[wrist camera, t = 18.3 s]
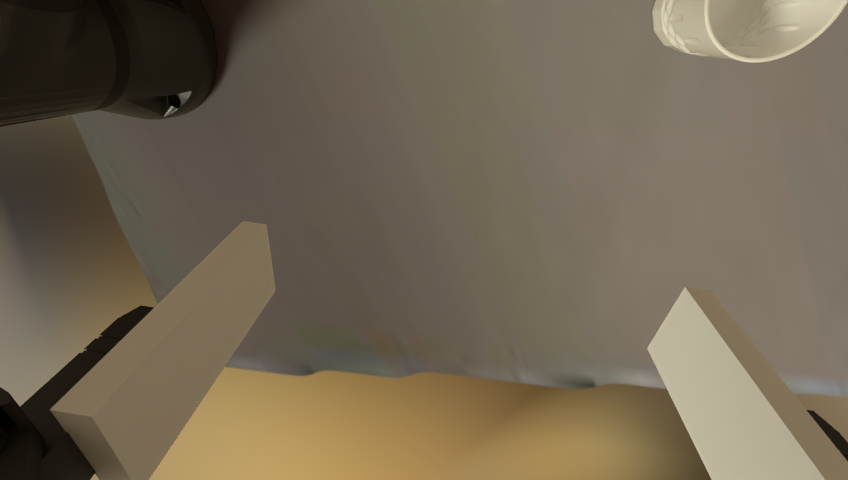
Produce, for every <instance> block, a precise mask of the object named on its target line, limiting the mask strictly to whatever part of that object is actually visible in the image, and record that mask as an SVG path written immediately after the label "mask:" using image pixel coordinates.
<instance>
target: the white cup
mask: <svg viewBox="0 0 848 480" xmlns="http://www.w3.org/2000/svg"><path fill="white" fill-rule="evenodd" d="M847 2H848V0H656V2H655V5H654V8H653V11H652V15H653V27H654V32H655V33H656V35H657V36H658V38H659V39H660V41H661V42H662V44H663V45H664V46H667V47H669V48H671V49H674V50H676V51H679V52H684V53H689V54H693V55H698V56H704V57H710V58H719V59H727V60H735V61H743V62H766V61H771V60H775V59H779V58H782V57H784V56H787V55H789V54H792V53H794V52H796V51H798V50H799V49H801V48H803V47H804V46H806V45H808V44H809V43H810V42H812V41H813V40H814V39H816V38H817V37H818V36H819V35H821V34H822V33H823V32H824V31H825V30H826V29H827V28H828V27H829V26H830V25H831V24H832V23H833V22H834V20H835V19H836V18H837V17H838V16H839V14H840V13H841V12H842V10H843V9H844V7H845V6H846V4H847Z"/></svg>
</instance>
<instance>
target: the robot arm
mask: <svg viewBox="0 0 848 480" xmlns="http://www.w3.org/2000/svg"><path fill="white" fill-rule="evenodd" d="M215 71H216V46H215V40H214V35H213V31H212V28H211V25H210V22H209V19H208V17H207V15H206V12H205V10H204V8H203V6H202V4H201V2H200V1H199V0H0V127H1V126H6V125H12V124H18V123H24V122H29V121H36V120H41V119H47V118H53V117H59V116H65V115H71V114H76V113H82V112H87V111H94V110H101V111H106V112H111V113H116V114H122V115H127V116H132V117H137V118H142V119H165V118H170V117H175V116H179V115H183V114H186V113H188V112H190V111H192V110H193V109H195V108H196V107H197V106H199V105H200V104H201V103H202V102H203V100H204V99H205V98H206V96H207V95H208V93H209V91H210V89H211V87H212V84H213V81H214V77H215ZM275 291H276V290H275V283H274V276H273V269H272V261H271V254H270V247H269V239H268V232H267V225H266V224H259V223H252V222H245V221H243V222H242V223H241V224H240V225H239V226H237V227H236V228H235V229H234V230H233V231H232V232H231V233H230V234H229V235H228V236H227V237H226V238H225V239H224V240H223V241H222V242H221V243H220V244H219V245H218V246H217V247H216V248H215V249H214V250H213V251H212V252H211V253H210V254H209V255H208V256H207V257H206V258H205V259H204V260H203V261H202V262H201V263H200V264H199V265H198V266H196V267H195V268H194V269H193V270H192V271H191V272H190V273H189V274H188V275H187V276H186V277H185V278H184V279H183V280H182V281H181V282H180V283H179V284H178V285H177V286H176V287H175V288H174V289H173V290H172V291H171V292H170V293H169V294H168V295H167V296H166V297H165V298H164V299H163V300H162V301H161V302H160V303H159V304H158V305H157V306H155V307H154V308H153V307H147V306H139V307H138V308H136V309H134V310H132V311H130V312H129V313H127V314H125V315H123V316H121V317H120V318H118V319H117V320H116V321H114V322H113V323H112V324H111V325H110V326H109V327H108V328H107V329H106V330H104V331H103V332H102V333H101V334H100V335H99V338H98V339H95V340H93V341H92V342H91V343H90V344H89V345H88V346H87V347H86V348H85V349H84V352H83V353H79V354H78V355H77V356H76V357H75V358H74V359H72V360H71V361H70V362H69V363H68V364H67V365H66V366H65V367H64V368H63V369H61V370H60V371H59V372H58V373H57V374H56V375H55V376H54V377H53V378H51V379H50V380H49V381H48V382H47V383H46V384H45V385H44V386H43V387H41V388H40V389H39V390H38V391H37V392H36V393H35V394H34V395H33V396H32V397H31V398H29V399H28V400H27V401H26V402H25V403H24V404H23V405H22V406H21V407H19V405H18V404H17V403H16V402H15V400H14V399H13V398H12V396H11V395H10V394H9V393H8V392H7V391H5V390H4V389H2V388H0V480H90V479H91V478H92V476H93V475H94V474H96V475H97V477H98V478H99V479H100V480H149V478H150V477H151V475H152V474H153V472H154V471H155V469H156V468H157V466H158V465H159V464H160V462H161V460H162V459H163V457H164V456H165V455H166V453H167V452H168V450H169V449H170V447H171V446H172V444H173V443H174V441H175V440H176V438H177V437H178V435H179V434H180V432H181V431H182V429H183V427H184V426H185V425H186V423H187V422H188V420H189V419H190V417H191V416H192V414H193V413H194V411H195V410H196V408H197V407H198V406H199V404H200V403H201V401H202V399H203V398H204V396H205V395H206V394H207V392H208V391H209V389H210V387H211V386H212V385H213V383H214V382H215V380H216V379H217V377H218V376H219V374H220V373H221V371H222V370H223V368H224V367H225V365H226V364H227V362H228V361H229V359H230V358H231V356H232V355H233V353H234V352H235V350H236V349H237V347H238V346H239V344H240V343H241V342H242V340H243V339H244V337H245V336H246V334H247V333H248V331H249V330H250V328H251V327H252V325H253V324H254V322H255V321H256V319H257V318H258V316H259V315H260V313H261V312H262V310H263V309H264V307H265V306H266V304H267V303H268V301H269V300H270V298H271V297H272V295H273V294H274V292H275ZM647 349H648V351H649V353H650V355H651V357H652V359H653V361H654V363H655V365H656V367H657V369H658V372H659V374H660V376H661V378H662V380H663V382H664V384H665V386H666V388H667V390H668V392H669V394H670V396H671V398H672V400H673V402H674V404H675V406H676V408H677V410H678V412H679V414H680V416H681V418H682V420H683V422H684V424H685V426H686V428H687V430H688V432H689V434H690V436H691V438H692V440H693V442H694V445H695V447H696V449H697V451H698V452H699V455H700V457H701V459H702V461H703V463H704V465H705V467H706V469H707V471H708V473H709V475H710V477H711V479H712V480H848V443H847V441H846V440H845V439H844V438H843V437H842V436H841V434H840V433H839V432H838V431H836V430H835V429H834V428H833V427H832V426H831V425H829V424H828V423H827V422H826V421H825V420H823V419H822V418H821V417H820V416H818V415H817V414H816V413H815V412H814V411H810V410H806V409H805V408H804V407H803V405H802V404H801V403H800V402H799V400H798V399H797V398H796V397H795V395H794V394H793V393H792V392H791V390H790V389H789V388H788V387H787V385H786V384H785V383H784V382H783V380H782V379H781V378H780V377H779V375H778V374H777V373H776V372H775V371H774V369H773V368H772V367H771V366H770V364H769V363H768V362H767V361H766V359H765V358H764V357H763V356H762V354H761V353H760V352H759V351H758V349H757V348H756V347H755V346H754V344H753V343H752V342H751V341H750V339H749V338H748V337H747V336H746V334H745V333H744V332H743V331H742V329H741V328H740V327H739V326H738V325H737V323H736V322H735V321H734V320H733V318H732V317H731V316H730V315H729V313H728V312H727V311H726V310H725V308H724V307H723V306H722V305H721V303H720V302H719V301H718V300H717V298H716V297H715V296H714V295H713V293H712V292H711V291H708V290H701V289H695V288H688V287H685V288H684V290H683V291H682V293H681V294H680V296H679V298H678V299H677V301H676V302H675V304H674V306H673V307H672V309H671V311H670V312H669V314H668V315H667V317H666V319H665V320H664V322H663V324H662V325H661V327H660V328H659V330H658V332H657V333H656V335H655V337H654V338H653V340H652V341H651V343H650V345H649V346H648V348H647Z"/></svg>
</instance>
